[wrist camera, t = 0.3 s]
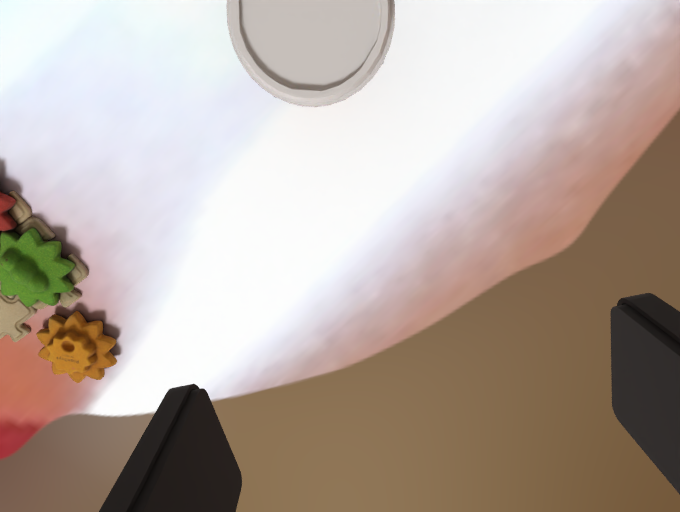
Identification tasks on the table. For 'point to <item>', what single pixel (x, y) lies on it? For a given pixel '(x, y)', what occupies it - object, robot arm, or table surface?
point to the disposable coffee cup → (311, 45)
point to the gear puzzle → (46, 294)
